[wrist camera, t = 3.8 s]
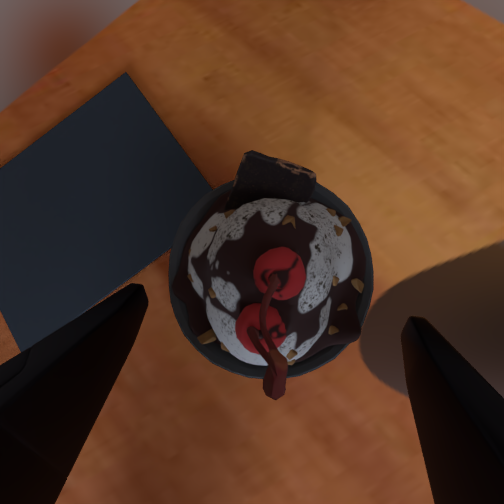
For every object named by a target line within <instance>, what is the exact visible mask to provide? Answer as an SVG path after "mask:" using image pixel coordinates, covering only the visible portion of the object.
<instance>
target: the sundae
mask: <svg viewBox="0 0 504 504" xmlns="http://www.w3.org/2000/svg"><path fill="white" fill-rule="evenodd" d="M169 291H170V300H171V304H172V308H173V311H174V314H175V317H176V319H177V321H178V323H179V326H180V328H181V330H182V332H183V334H184V336H185V337H186V338H187V339H188V340H189V341H190V343H191V344H192V345H193V346H194V347H195V348H196V350H197V351H199V352H200V353H201V354H202V355H203V356H204V357H206V358H207V359H208V360H209V361H210V362H212V363H213V364H215V365H217V366H219V367H221V368H223V369H226V370H228V371H230V372H232V373H235V374H239V375H242V376H245V377H248V378H258V379H263V390H264V392H265V394H266V396H268V397H270V398H272V399H274V400H277V399H278V398H280V397H282V396H283V395H284V393H285V390H286V389H285V384H286V378H290V377H296V376H301V375H303V374H306V373H308V372H311V371H313V370H316V369H317V368H319V367H321V366H323V365H324V364H326V363H328V362H330V361H332V360H333V359H335V358H336V357H337V356H338V355H339V354H340V353H341V352H342V351H343V350H344V349H345V348H346V347H347V346H348V345H349V344H350V343H352V342H354V341H356V340H357V339H358V338H359V336H360V334H361V327H362V325H363V323H364V320H365V317H366V314H367V312H368V309H369V306H370V302H371V297H372V293H373V265H372V257H371V252H370V248H369V245H368V241H367V238H366V236H365V234H364V232H363V230H362V228H361V225H360V223H359V222H358V220H357V219H356V217H355V216H354V214H353V213H352V211H351V210H350V208H349V207H348V205H346V204H345V203H344V202H343V201H342V200H341V199H340V198H338V197H337V196H336V195H335V194H334V193H333V192H331V191H330V190H328V189H326V188H325V187H323V186H322V185H320V184H319V183H317V182H316V174H315V173H314V172H313V171H311V170H309V169H306V168H304V167H302V166H299V165H297V164H294V163H291V162H289V161H285V160H282V159H278V158H273V157H268V156H266V155H264V154H261V153H259V152H256V151H253V150H251V151H249V152H246V153H244V155H243V158H242V161H241V163H240V166H239V169H238V171H237V174H236V177H235V180H233V181H230V182H228V183H225V184H223V185H221V186H219V187H217V188H216V189H214V190H212V191H210V192H209V193H207V194H205V195H204V196H203V197H202V198H201V199H200V200H199V201H198V202H197V203H196V204H195V205H194V206H193V207H192V208H191V209H190V211H189V212H188V213H187V215H186V216H185V218H184V219H183V220H182V222H181V223H180V226H179V228H178V231H177V233H176V236H175V238H174V241H173V245H172V249H171V253H170V259H169Z"/></svg>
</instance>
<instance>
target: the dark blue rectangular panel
mask: <svg viewBox="0 0 504 504" xmlns="http://www.w3.org/2000/svg"><path fill="white" fill-rule="evenodd" d="M210 191H212V188H211V187H210V186H209V184H208V183H207V181H206V180H205V179H204V177H203V176H202V175H201V173H200V172H199V171H198V169H197V168H196V166H195V165H194V164H193V162H192V161H191V160H190V158H189V157H188V156H187V154H186V153H185V152H184V150H183V149H182V147H181V146H180V145H179V143H178V142H177V141H176V139H175V138H174V137H173V135H172V134H171V132H170V131H169V130H168V128H167V127H166V126H165V124H164V123H163V122H162V120H161V119H160V117H159V116H158V115H157V113H156V112H155V111H154V109H153V108H152V107H151V105H150V104H149V103H148V101H147V100H146V98H145V97H144V96H143V94H142V93H141V92H140V90H139V89H138V88H137V86H136V85H135V83H134V82H133V81H132V79H131V78H130V77H129V75H128V74H127V73H126V72H125V73H124V74H123V75H121V76H120V77H119V78H118V79H116V80H115V81H114V82H112V83H111V84H110V85H108V86H107V87H106V88H104V89H103V90H102V91H101V92H99V93H98V94H97V95H95V96H94V97H93V98H91V99H90V100H89V101H88V102H86V103H85V104H84V105H82V106H81V107H80V108H78V109H77V110H76V111H75V112H73V113H72V114H71V115H69V116H68V117H67V118H65V119H64V120H63V121H61V122H60V123H59V124H58V125H56V126H55V127H54V128H52V129H51V130H50V131H48V132H47V133H46V134H45V135H43V136H42V137H41V138H39V139H38V140H37V141H35V142H34V143H33V144H31V145H30V146H29V147H28V148H26V149H25V150H24V151H22V152H21V153H20V154H18V155H17V156H16V157H15V158H13V159H12V160H11V161H9V162H8V163H7V164H5V165H4V166H3V167H1V168H0V311H1V313H2V315H3V317H4V319H5V321H6V323H7V325H8V327H9V329H10V331H11V333H12V335H13V337H14V339H15V341H16V343H17V345H18V347H19V349H20V351H21V352H23V351H24V350H26V349H27V348H29V347H32V345H34V344H35V343H37V342H39V341H40V340H42V339H43V338H45V337H47V336H48V335H50V334H51V333H53V332H55V331H56V330H58V329H59V328H61V327H62V326H64V325H66V324H67V323H69V322H70V321H72V320H74V319H75V318H77V317H78V316H80V315H81V314H83V313H84V312H86V311H87V310H88V309H90V308H91V307H92V306H94V305H95V304H96V303H98V302H99V301H100V300H102V299H103V298H104V297H106V296H107V295H108V294H110V293H111V292H112V291H114V290H115V289H116V288H118V287H119V286H120V285H122V284H123V283H124V282H126V281H127V280H129V279H130V278H131V277H133V276H134V275H135V274H137V273H138V272H139V271H141V270H142V269H143V268H145V267H146V266H147V265H149V264H150V263H151V262H153V261H154V260H155V259H157V258H158V257H159V256H161V255H162V254H163V253H165V252H166V251H167V250H169V249H170V248H171V247H172V245H173V241H174V238H175V236H176V233H177V231H178V228H179V226H180V223H181V222H182V220H183V219H184V218H185V216H186V215H187V213H188V212H189V211H190V209H191V208H192V207H193V206H194V205H195V204H196V203H197V202H198V201H199V200H200V199H201V198H202V197H203V196H204V195H205V194H207V193H209V192H210Z"/></svg>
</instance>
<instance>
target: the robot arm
mask: <svg viewBox="0 0 504 504" xmlns="http://www.w3.org/2000/svg"><path fill="white" fill-rule="evenodd" d="M147 307H148V297H147V295H146V292H145V289H144V286H143V285H141V284H134V283H132V284H129V285H127V286H126V287H124V288H123V289H121V290H119V291H118V292H116V293H115V294H113V295H112V296H110V297H108V298H107V299H105V300H104V301H102V302H100V303H99V304H97V305H96V306H94V307H93V308H91V309H89V310H88V311H86V312H85V313H83V314H81V315H80V316H78V317H77V318H75V319H74V320H72V321H70V322H69V323H67V324H66V325H64V326H62V327H61V328H59V329H58V330H56V331H55V332H53V333H51V334H50V335H48V336H47V337H45V338H43V339H42V340H40V341H39V342H37V343H35V344H34V345H32V347H29V348H27V349H26V350H24V351H23V352H21V353H20V354H18V355H16V356H15V357H13V358H11V359H10V360H8V361H6V362H5V363H3V364H2V365H0V504H55V502H56V500H57V498H58V496H59V494H60V492H61V490H62V488H63V486H64V484H65V482H66V480H67V477H68V476H69V474H70V472H71V470H72V468H73V466H74V464H75V462H76V460H77V458H78V456H79V454H80V452H81V449H82V447H83V445H84V443H85V441H86V439H87V437H88V435H89V433H90V431H91V429H92V427H93V425H94V423H95V421H96V419H97V417H98V415H99V413H100V411H101V409H102V407H103V405H104V403H105V401H106V399H107V397H108V395H109V393H110V391H111V389H112V387H113V385H114V383H115V381H116V379H117V377H118V375H119V373H120V371H121V369H122V367H123V365H124V363H125V361H126V359H127V357H128V355H129V353H130V351H131V349H132V347H133V345H134V342H135V340H136V337H137V334H138V332H139V329H140V326H141V324H142V321H143V318H144V316H145V313H146V310H147ZM401 342H402V352H403V360H404V369H405V377H406V384H407V389H408V394H409V398H410V402H411V407H412V411H413V415H414V419H415V423H416V428H417V432H418V436H419V440H420V444H421V449H422V453H423V457H424V461H425V465H426V470H427V474H428V478H429V482H430V486H431V491H432V495H433V499H434V503H435V504H504V398H503V397H502V396H501V395H500V394H499V393H498V392H497V391H496V390H495V389H494V388H493V387H492V386H491V385H490V384H489V383H488V382H487V381H486V380H485V379H484V378H483V377H482V376H481V375H480V374H479V373H478V372H477V370H476V369H474V367H472V366H471V364H470V363H469V362H468V361H467V360H466V359H465V358H464V357H463V356H462V355H461V354H460V353H459V352H458V351H457V350H456V349H455V348H454V347H453V346H452V345H451V344H450V343H449V342H448V341H447V340H446V339H445V338H444V337H443V336H442V335H441V334H440V332H438V330H437V329H436V328H435V327H434V326H433V325H432V324H431V323H430V322H429V321H428V320H427V319H425V318H424V317H419V316H410V317H409V318H408V320H407V322H406V324H405V326H404V328H403V330H402V333H401Z"/></svg>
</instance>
